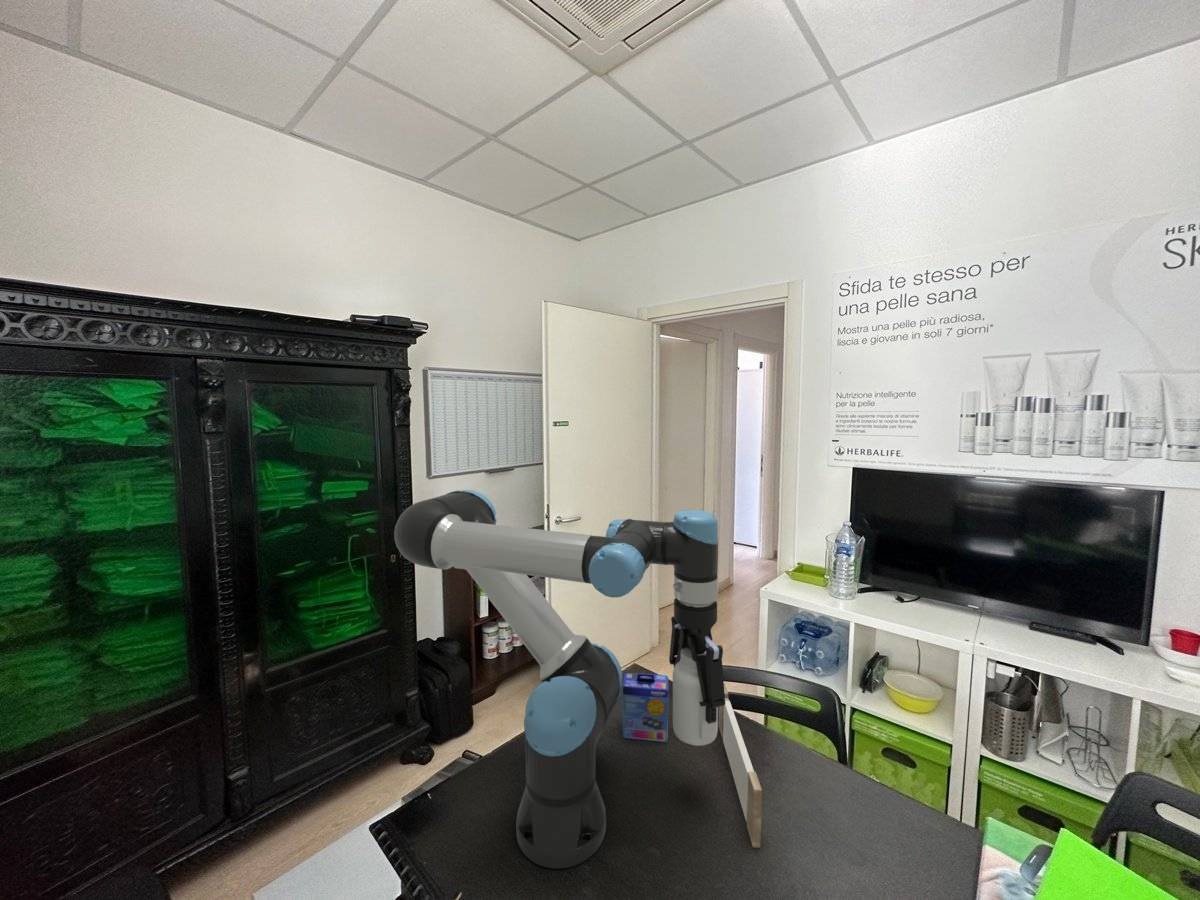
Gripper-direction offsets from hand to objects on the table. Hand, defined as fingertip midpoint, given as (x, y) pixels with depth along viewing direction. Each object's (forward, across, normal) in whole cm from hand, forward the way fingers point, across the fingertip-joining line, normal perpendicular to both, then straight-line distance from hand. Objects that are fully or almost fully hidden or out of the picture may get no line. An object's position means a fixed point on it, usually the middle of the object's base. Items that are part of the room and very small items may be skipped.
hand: (694, 720), depth 85 cm
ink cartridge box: (+15, -18, -2) cm, 23 cm away
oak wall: (+14, -1, +10) cm, 17 cm away
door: (+14, -1, +10) cm, 17 cm away
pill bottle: (+2, 0, 0) cm, 2 cm away
